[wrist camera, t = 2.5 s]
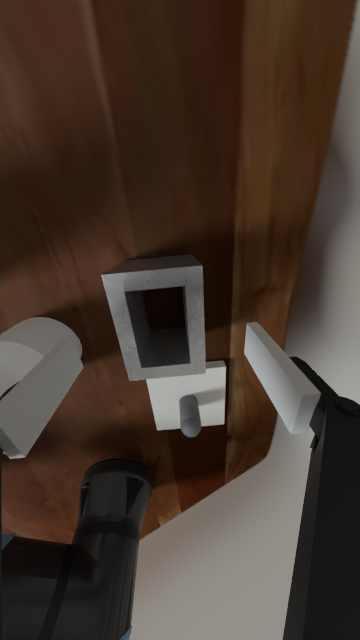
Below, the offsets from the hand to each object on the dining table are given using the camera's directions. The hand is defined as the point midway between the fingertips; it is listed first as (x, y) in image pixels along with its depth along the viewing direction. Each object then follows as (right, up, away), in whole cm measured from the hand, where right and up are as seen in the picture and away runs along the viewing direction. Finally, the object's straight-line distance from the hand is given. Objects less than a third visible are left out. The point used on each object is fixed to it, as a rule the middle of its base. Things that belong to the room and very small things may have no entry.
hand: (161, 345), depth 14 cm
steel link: (-1, +4, +10) cm, 11 cm away
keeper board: (+3, -11, +17) cm, 20 cm away
